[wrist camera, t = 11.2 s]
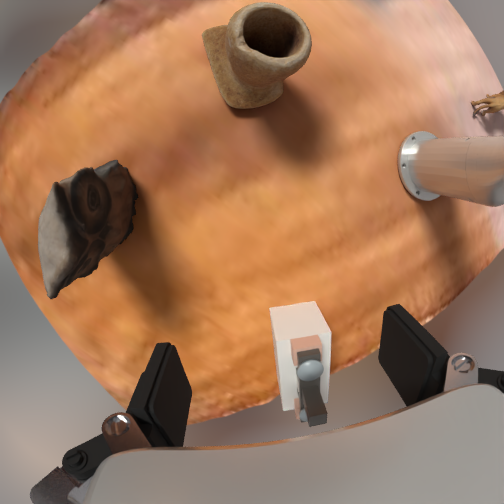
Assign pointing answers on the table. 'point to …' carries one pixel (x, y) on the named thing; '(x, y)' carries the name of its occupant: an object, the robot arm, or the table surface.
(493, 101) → the lion figurine
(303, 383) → the bar with two balls
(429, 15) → the table surface
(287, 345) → the white toy brick
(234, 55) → the stone cup
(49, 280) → the owl
